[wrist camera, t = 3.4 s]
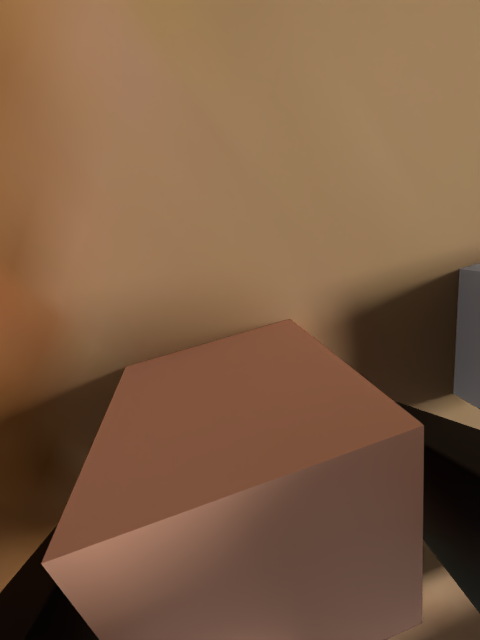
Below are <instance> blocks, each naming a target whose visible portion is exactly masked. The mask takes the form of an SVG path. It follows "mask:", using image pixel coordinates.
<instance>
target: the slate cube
mask: <svg viewBox="0 0 480 640" xmlns="http://www.w3.org/2000/svg"><path fill="white" fill-rule="evenodd" d="M453 394H455V395H457V396H458V397H460V398H462V399H463V400H465V401H467V402H468V403H470V404H472V405H474V406H475V407H477V408H479V409H480V263H478V264H475V265H471V266H468V267H464V268H461V269H460V271H459V291H458V311H457V331H456V351H455V371H454V391H453Z"/></svg>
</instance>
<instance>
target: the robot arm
mask: <svg viewBox="0 0 480 640" xmlns="http://www.w3.org/2000/svg"><path fill="white" fill-rule="evenodd" d="M394 402H395V403H397V404H398V405H399V406H401V407H402V408H403V409H404V410H406V411H407V412H408V413H409V414H411V415H412V416H413V417H414V418H416V419H417V420H418V421H419V422H421V423H422V424H423V425H424V477H423V540H424V541H425V543H426V544H427V545H428V546H429V548H430V549H431V550H432V552H433V553H434V554H435V556H436V557H437V558H438V560H439V561H440V562H441V563H442V565H443V566H444V567H445V569H446V570H447V571H448V573H449V574H450V575H451V577H452V578H453V579H454V580H455V582H456V583H457V584H458V586H459V587H460V588H461V590H462V591H463V592H464V593H465V595H466V596H467V597H468V599H469V600H470V601H471V603H472V604H473V605H474V607H475V608H476V609H477V610H478V612H479V613H480V430H478V429H475V428H472V427H469V426H467V425H464V424H461V423H458V422H455V421H452V420H449V419H446V418H443V417H440V416H437V415H434V414H431V413H428V412H425V411H422V410H419V409H416V408H413V407H410V406H407V405H404V404H401V403H398V402H396V401H394ZM57 526H58V525H57ZM57 526H56V527H55V528H54V529H53V530H52V532H51V533H50V534H49V535H48V536H47V538H46V539H45V540H44V541H43V542H42V544H41V545H40V546H39V547H38V548H37V550H36V551H35V552H34V553H33V554H32V556H31V557H30V558H29V559H28V560H27V562H26V563H25V564H24V565H23V566H22V568H21V569H20V570H19V571H18V572H17V574H16V575H15V576H14V577H13V578H12V580H11V581H10V582H9V583H8V584H7V585H6V587H5V588H4V589H3V590H2V591H1V593H0V640H99V638H98V637H97V636H96V635H95V633H94V632H93V631H92V629H91V628H90V627H89V625H88V624H87V623H86V622H85V620H84V619H83V618H82V616H81V615H80V614H79V612H78V611H77V610H76V609H75V607H74V606H73V605H72V603H71V602H70V601H69V599H68V598H67V597H66V596H65V594H64V593H63V592H62V590H61V589H60V588H59V586H58V585H57V584H56V583H55V581H54V580H53V579H52V577H51V576H50V575H49V573H48V572H47V571H46V570H45V568H44V567H43V566H42V564H41V563H42V560H43V558H44V556H45V553H46V551H47V549H48V546H49V544H50V542H51V540H52V537H53V535H54V533H55V530H56V528H57Z"/></svg>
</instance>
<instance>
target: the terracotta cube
mask: <svg viewBox="0 0 480 640" xmlns="http://www.w3.org/2000/svg"><path fill="white" fill-rule="evenodd" d="M423 477H424V425H423V424H422V423H421V422H419V421H418V420H417V419H416V418H414V417H413V416H412V415H411V414H409V413H408V412H407V411H406V410H404V409H403V408H402V407H401V406H399V405H398V404H397V403H395V402H394V401H393V400H392V399H390V398H389V397H388V396H387V395H385V394H384V393H383V392H382V391H380V390H379V389H378V388H377V387H375V386H374V385H373V384H372V383H370V382H369V381H368V380H367V379H365V378H364V377H363V376H361V375H360V374H359V373H358V372H356V371H355V370H354V369H353V368H351V367H350V366H349V365H348V364H346V363H345V362H344V361H343V360H341V359H340V358H339V357H338V356H336V355H335V354H334V353H333V352H331V351H330V350H329V349H327V348H326V347H325V346H324V345H322V344H321V343H320V342H319V341H317V340H316V339H315V338H314V337H312V336H311V335H310V334H309V333H307V332H306V331H305V330H304V329H302V328H301V327H300V326H298V325H297V324H296V323H295V322H293V321H292V320H291V319H288V320H284V321H281V322H277V323H274V324H270V325H267V326H264V327H260V328H257V329H253V330H250V331H246V332H243V333H240V334H236V335H233V336H229V337H226V338H222V339H219V340H216V341H212V342H209V343H205V344H202V345H198V346H195V347H192V348H188V349H185V350H181V351H178V352H174V353H171V354H168V355H164V356H161V357H157V358H154V359H150V360H147V361H144V362H140V363H137V364H133V365H130V366H126V367H125V370H124V372H123V374H122V377H121V379H120V381H119V384H118V386H117V388H116V391H115V393H114V395H113V398H112V400H111V402H110V405H109V407H108V409H107V412H106V414H105V416H104V419H103V421H102V423H101V426H100V428H99V430H98V433H97V435H96V437H95V440H94V442H93V444H92V447H91V449H90V451H89V453H88V456H87V458H86V460H85V463H84V465H83V467H82V470H81V472H80V474H79V477H78V479H77V481H76V484H75V486H74V488H73V491H72V493H71V495H70V498H69V500H68V502H67V505H66V507H65V509H64V512H63V514H62V516H61V519H60V521H59V523H58V526H57V528H56V530H55V533H54V535H53V537H52V540H51V542H50V544H49V546H48V549H47V551H46V553H45V556H44V558H43V560H42V563H41V564H42V566H43V567H44V568H45V570H46V571H47V572H48V573H49V575H50V576H51V577H52V579H53V580H54V581H55V583H56V584H57V585H58V586H59V588H60V589H61V590H62V592H63V593H64V594H65V596H66V597H67V598H68V599H69V601H70V602H71V603H72V605H73V606H74V607H75V609H76V610H77V611H78V612H79V614H80V615H81V616H82V618H83V619H84V620H85V622H86V623H87V624H88V625H89V627H90V628H91V629H92V631H93V632H94V633H95V635H96V636H97V637H98V638H99V640H386V639H388V638H391V637H393V636H395V635H397V634H399V633H402V632H404V631H406V630H408V629H410V628H412V627H415V626H417V625H419V624H421V623H422V580H423Z"/></svg>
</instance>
